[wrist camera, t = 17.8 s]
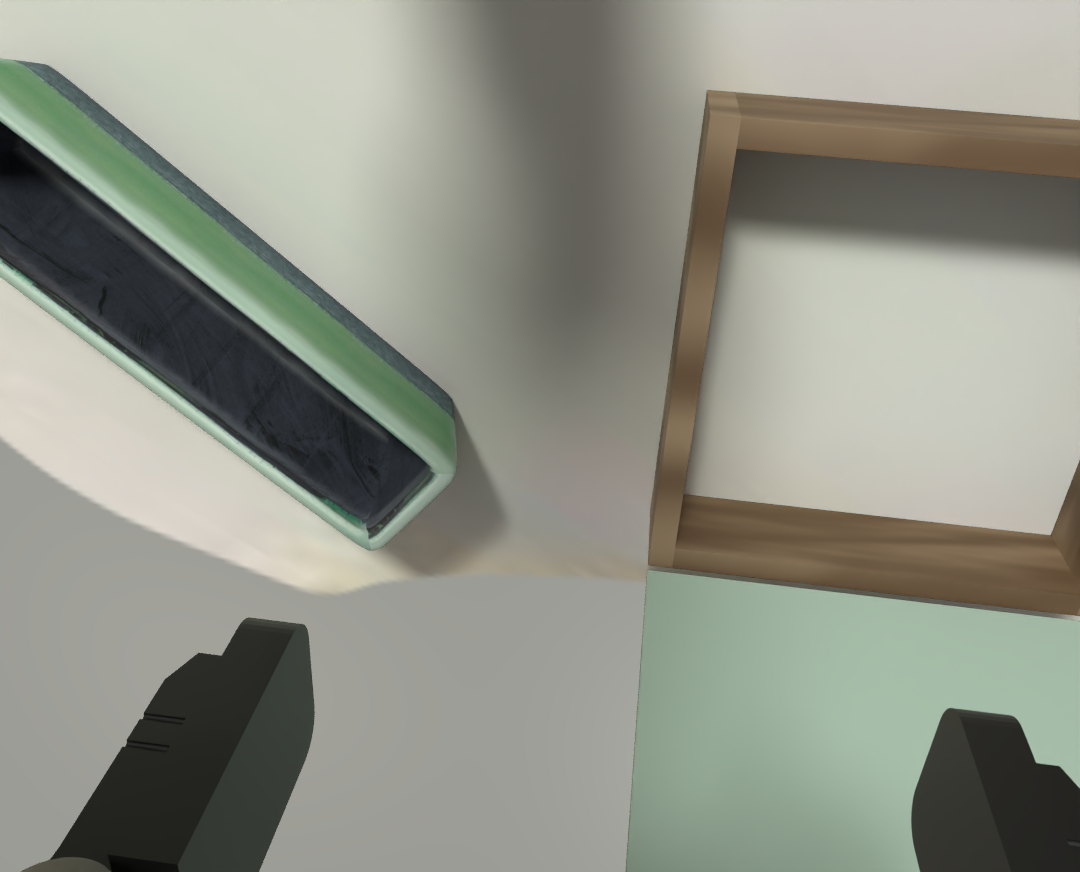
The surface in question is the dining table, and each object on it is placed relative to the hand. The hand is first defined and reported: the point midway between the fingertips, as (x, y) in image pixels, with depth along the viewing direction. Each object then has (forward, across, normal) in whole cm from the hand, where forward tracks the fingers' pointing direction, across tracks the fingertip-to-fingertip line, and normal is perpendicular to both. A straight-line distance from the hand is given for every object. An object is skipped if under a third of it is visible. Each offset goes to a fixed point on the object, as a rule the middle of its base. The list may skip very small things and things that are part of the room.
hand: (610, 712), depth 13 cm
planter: (+37, +20, +10) cm, 43 cm away
